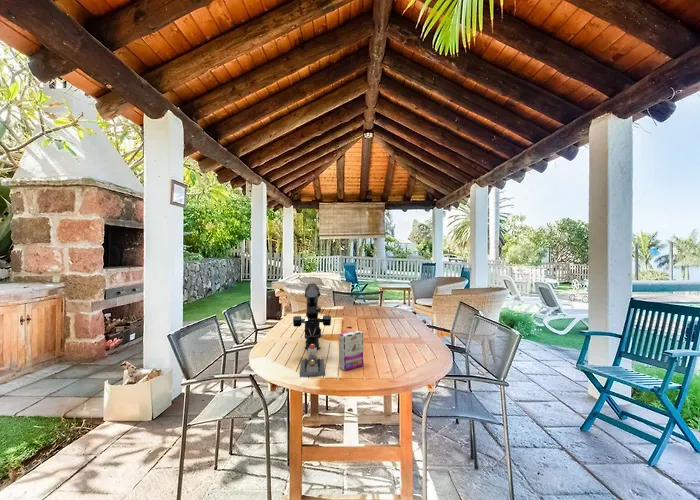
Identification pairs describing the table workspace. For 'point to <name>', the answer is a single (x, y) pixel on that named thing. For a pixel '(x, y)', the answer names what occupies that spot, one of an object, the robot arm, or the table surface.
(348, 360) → the candy bar box
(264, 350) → the table surface
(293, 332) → the table surface
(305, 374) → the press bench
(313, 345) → the lever
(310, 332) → the robot arm
